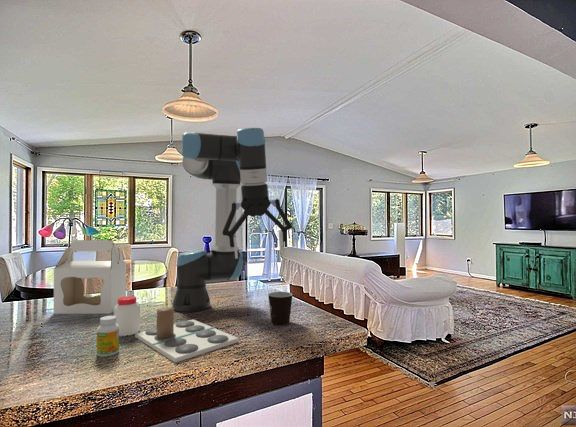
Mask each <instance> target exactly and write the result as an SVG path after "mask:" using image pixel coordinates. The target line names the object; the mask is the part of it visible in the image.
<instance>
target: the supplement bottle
mask: <svg viewBox="0 0 576 427" xmlns="http://www.w3.org/2000/svg"><path fill="white" fill-rule="evenodd" d="M96 329H97V330H96V355H97V356H98V357H102V358H105V357H111V356H114V355H116V354H117V353H118V352H119V350H120V336H119V325H118V324H116V316H114V315H106V316H103V317H102V316H101V317H100V318H99V326H98V327H97V328H96Z"/></svg>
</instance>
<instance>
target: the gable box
mask: <svg viewBox="0 0 576 427" xmlns="http://www.w3.org/2000/svg"><path fill="white" fill-rule="evenodd" d="M77 252H78V253H79V252H80V253H81V252H89V253H90V252H99V253H100V252H101V253H102V252H108V253H111V255H110V260H75V257H74V256H75V254H74V253H77ZM94 278H95V279H96V278H97V279H102V280H103V284H102V287H101V290H100V294H99V295H94V296H90V297H87V296H85V295H84V291H85V287H84V283H83V280H82V279H85V280H87V279H94ZM125 296H127V263H126V261H125V260H124V259H123V257H122V255H121V254H120V248H119V247H115V242H113V240H111V239H108V240H107V239H96V240H94V239H93V240H92V239H91V240H90V239H80V240H78V239H76V240H75V239H73V240H72V241H71V242H70V247H65V248H64V252H63V254H62V256H61V258H60V259H59V261H58V262H57V264H56V265H55V267H54V269H53V315H91V314H92V315H93V314H95V315H100V314H101V315H104V314H105V315H106V314H108V315H109V314H110V315H111V314H112V313H113V314H114V306H115V305H116V304H118V298H120V297H125Z"/></svg>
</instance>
